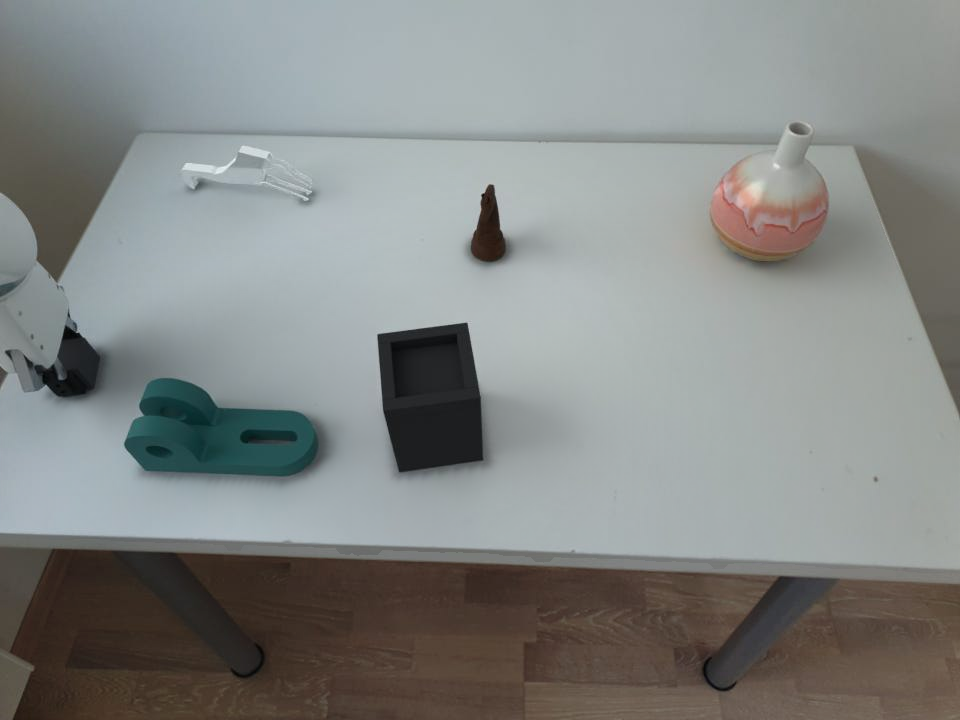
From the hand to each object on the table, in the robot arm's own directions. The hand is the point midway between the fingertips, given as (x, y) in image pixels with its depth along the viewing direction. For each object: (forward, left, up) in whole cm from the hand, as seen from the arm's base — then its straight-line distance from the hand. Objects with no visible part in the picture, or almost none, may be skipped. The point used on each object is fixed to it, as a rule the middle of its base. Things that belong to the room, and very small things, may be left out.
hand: (76, 373), depth 83 cm
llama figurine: (+24, +25, -1) cm, 35 cm away
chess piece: (+52, +3, -1) cm, 52 cm away
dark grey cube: (0, 0, 0) cm, 0 cm away
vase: (+85, -8, -1) cm, 85 cm away
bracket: (+16, -16, -1) cm, 23 cm away
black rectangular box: (+37, -21, 0) cm, 43 cm away
